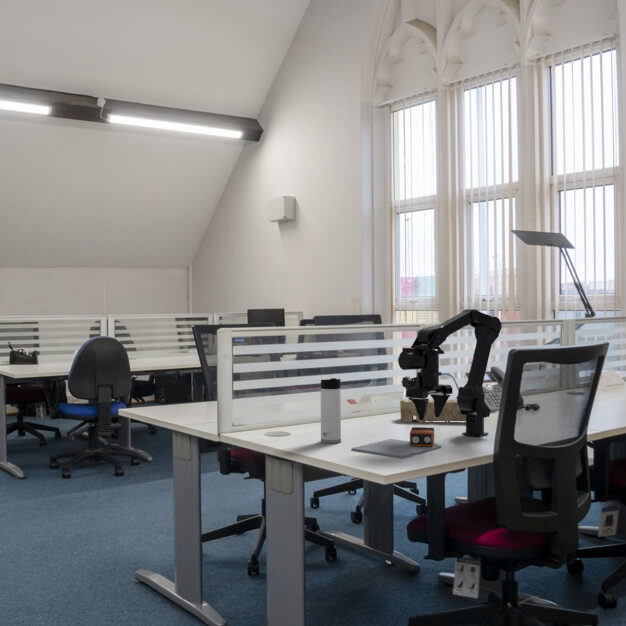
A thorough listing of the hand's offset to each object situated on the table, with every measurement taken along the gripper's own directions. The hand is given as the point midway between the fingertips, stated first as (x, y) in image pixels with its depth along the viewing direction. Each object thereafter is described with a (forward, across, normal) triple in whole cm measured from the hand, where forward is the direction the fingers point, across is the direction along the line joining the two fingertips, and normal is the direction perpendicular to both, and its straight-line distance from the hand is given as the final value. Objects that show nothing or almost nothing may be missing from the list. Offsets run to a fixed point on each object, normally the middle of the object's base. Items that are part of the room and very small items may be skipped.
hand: (429, 418), depth 229 cm
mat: (+7, +18, 0) cm, 20 cm away
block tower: (+7, -37, -18) cm, 42 cm away
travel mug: (+7, +22, -22) cm, 32 cm away
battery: (+4, +6, +1) cm, 7 cm away
